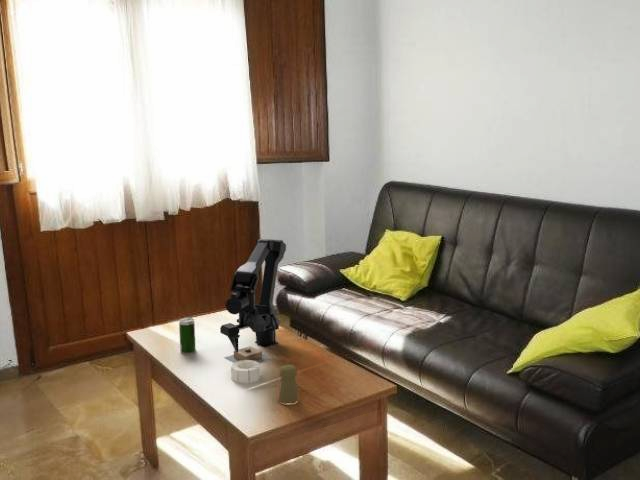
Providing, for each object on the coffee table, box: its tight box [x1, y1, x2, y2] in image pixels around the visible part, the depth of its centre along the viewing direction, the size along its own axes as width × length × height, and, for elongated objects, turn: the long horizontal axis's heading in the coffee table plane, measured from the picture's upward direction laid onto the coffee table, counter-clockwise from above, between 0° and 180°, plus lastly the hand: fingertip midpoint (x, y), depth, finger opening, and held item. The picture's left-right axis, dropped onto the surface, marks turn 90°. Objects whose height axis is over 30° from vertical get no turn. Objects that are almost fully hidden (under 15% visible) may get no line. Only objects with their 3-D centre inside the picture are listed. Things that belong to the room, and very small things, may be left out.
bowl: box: [230, 360, 261, 384], centre depth 213 cm, size 9×9×4 cm
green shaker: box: [278, 364, 300, 404], centre depth 197 cm, size 6×6×11 cm
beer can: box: [178, 317, 197, 355], centre depth 235 cm, size 5×5×12 cm
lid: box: [233, 345, 263, 361], centre depth 229 cm, size 7×7×3 cm
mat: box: [224, 353, 273, 364], centre depth 230 cm, size 12×12×1 cm
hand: (247, 348), depth 229 cm, fingers open, 9 cm apart
